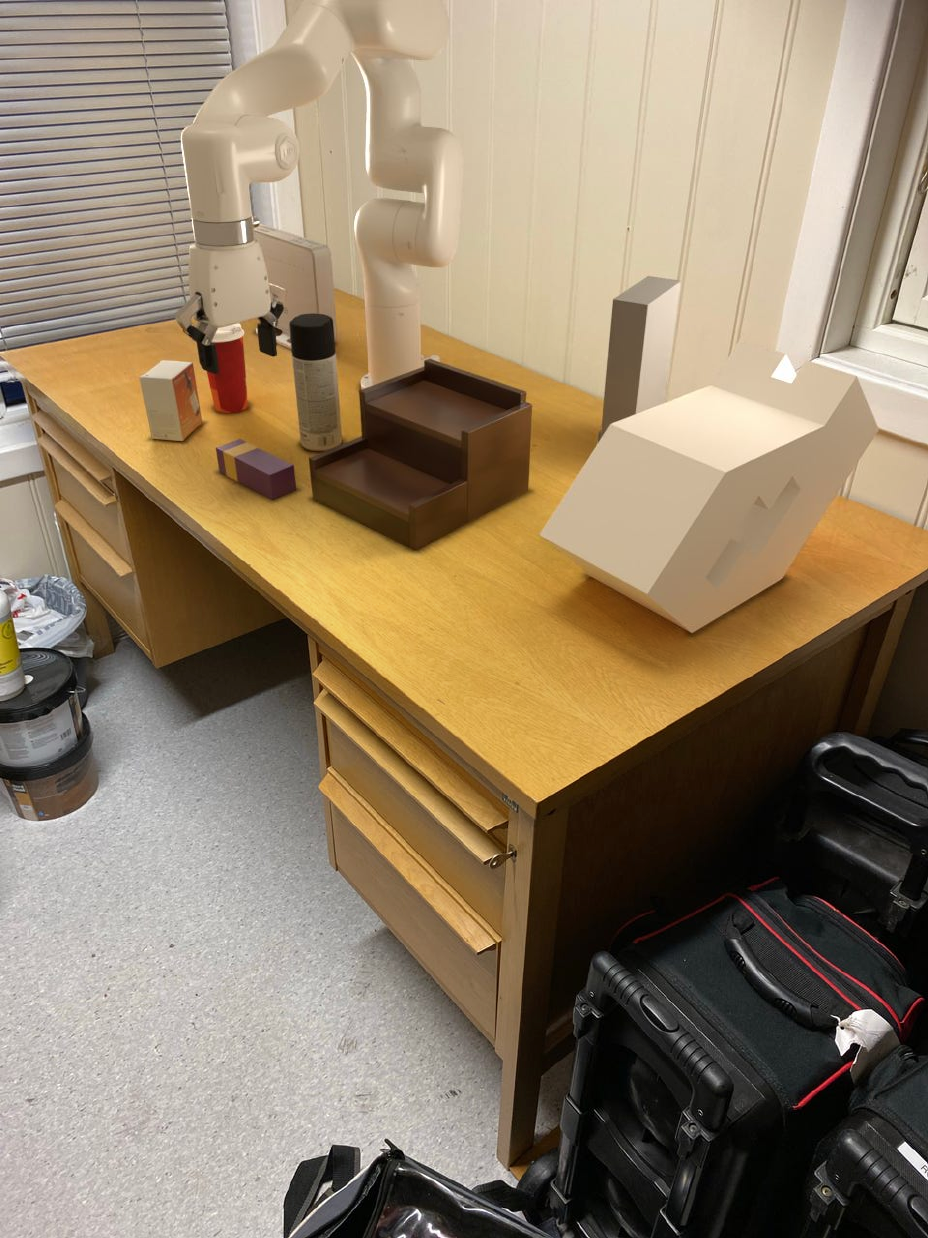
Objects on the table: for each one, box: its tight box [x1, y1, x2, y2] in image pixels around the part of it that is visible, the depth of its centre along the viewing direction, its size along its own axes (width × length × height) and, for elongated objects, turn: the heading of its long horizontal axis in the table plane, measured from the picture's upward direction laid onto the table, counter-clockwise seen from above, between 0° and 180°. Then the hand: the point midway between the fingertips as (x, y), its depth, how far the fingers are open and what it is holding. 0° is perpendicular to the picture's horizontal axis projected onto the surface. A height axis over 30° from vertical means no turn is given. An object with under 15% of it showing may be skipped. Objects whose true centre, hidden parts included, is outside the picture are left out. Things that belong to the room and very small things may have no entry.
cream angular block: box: [539, 339, 880, 634], centre depth 116 cm, size 26×16×35 cm
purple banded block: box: [215, 438, 297, 501], centre depth 142 cm, size 4×13×4 cm, turn 47°
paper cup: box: [206, 323, 249, 414], centre depth 162 cm, size 8×8×14 cm
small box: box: [139, 359, 203, 442], centre depth 154 cm, size 8×6×10 cm
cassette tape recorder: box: [596, 275, 682, 445], centre depth 145 cm, size 14×6×25 cm, turn 150°
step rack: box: [308, 359, 533, 551], centre depth 135 cm, size 23×21×15 cm
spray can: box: [289, 313, 343, 452], centre depth 148 cm, size 7×7×20 cm
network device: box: [254, 222, 338, 350], centre depth 189 cm, size 26×9×20 cm, turn 43°
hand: (240, 362), depth 132 cm, fingers open, 9 cm apart
